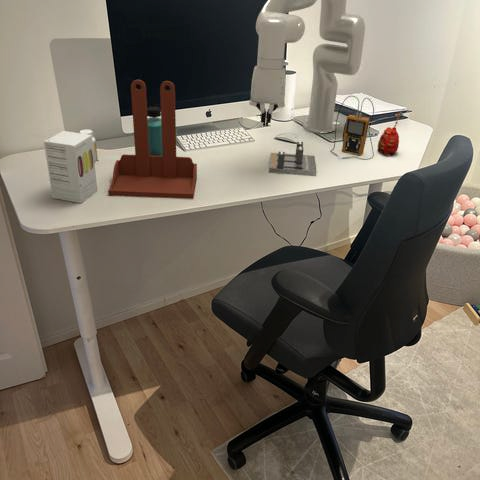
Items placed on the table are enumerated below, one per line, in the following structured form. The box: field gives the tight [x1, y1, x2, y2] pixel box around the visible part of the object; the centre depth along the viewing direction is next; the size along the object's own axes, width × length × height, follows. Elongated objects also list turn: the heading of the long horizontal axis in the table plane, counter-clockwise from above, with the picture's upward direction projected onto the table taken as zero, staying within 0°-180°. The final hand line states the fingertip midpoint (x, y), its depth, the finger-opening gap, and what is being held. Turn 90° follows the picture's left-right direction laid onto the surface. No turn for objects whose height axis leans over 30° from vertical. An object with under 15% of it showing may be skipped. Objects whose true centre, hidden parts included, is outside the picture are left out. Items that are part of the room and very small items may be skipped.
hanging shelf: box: [107, 79, 198, 200], centre depth 145 cm, size 24×13×30 cm, turn 90°
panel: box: [268, 152, 318, 177], centre depth 170 cm, size 13×15×2 cm
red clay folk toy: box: [377, 110, 402, 157], centre depth 181 cm, size 8×7×15 cm
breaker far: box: [295, 140, 304, 154], centre depth 173 cm, size 2×2×5 cm
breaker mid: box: [295, 146, 304, 163], centre depth 168 cm, size 2×2×5 cm
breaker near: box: [277, 150, 286, 168], centre depth 164 cm, size 2×2×5 cm
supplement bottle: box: [78, 129, 98, 163], centre depth 165 cm, size 5×5×10 cm
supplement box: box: [43, 130, 98, 204], centre depth 142 cm, size 10×9×17 cm
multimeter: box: [330, 95, 375, 161], centre depth 175 cm, size 15×10×20 cm
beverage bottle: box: [147, 106, 163, 156], centre depth 158 cm, size 6×7×20 cm
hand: (265, 124), depth 159 cm, fingers closed
